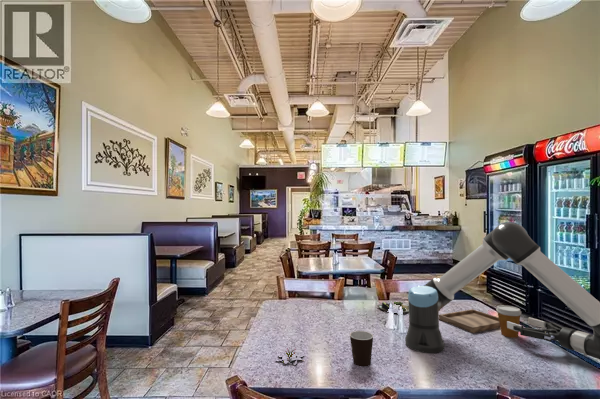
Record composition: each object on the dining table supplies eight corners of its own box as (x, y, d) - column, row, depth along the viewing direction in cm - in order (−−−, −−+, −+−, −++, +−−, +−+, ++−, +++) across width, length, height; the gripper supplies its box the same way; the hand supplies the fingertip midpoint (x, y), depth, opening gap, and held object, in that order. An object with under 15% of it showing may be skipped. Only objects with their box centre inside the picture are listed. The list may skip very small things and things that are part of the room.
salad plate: (390, 302, 193) (390, 295, 193) (418, 308, 180) (418, 300, 180) (373, 309, 179) (373, 301, 179) (402, 316, 166) (401, 308, 167)
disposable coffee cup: (520, 333, 141) (518, 306, 142) (525, 340, 132) (523, 312, 133) (495, 330, 145) (494, 304, 146) (498, 337, 136) (497, 309, 137)
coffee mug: (369, 370, 109) (368, 341, 109) (346, 364, 113) (346, 336, 114) (379, 357, 119) (378, 331, 119) (358, 352, 123) (357, 326, 124)
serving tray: (472, 333, 141) (472, 327, 142) (438, 319, 160) (438, 314, 160) (508, 325, 150) (508, 320, 150) (472, 313, 169) (472, 309, 169)
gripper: (554, 356, 111) (498, 335, 131) (596, 345, 120) (537, 327, 140) (553, 335, 111) (497, 317, 131) (595, 325, 120) (536, 310, 140)
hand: (518, 322), depth 136 cm, fingers open, 13 cm apart
